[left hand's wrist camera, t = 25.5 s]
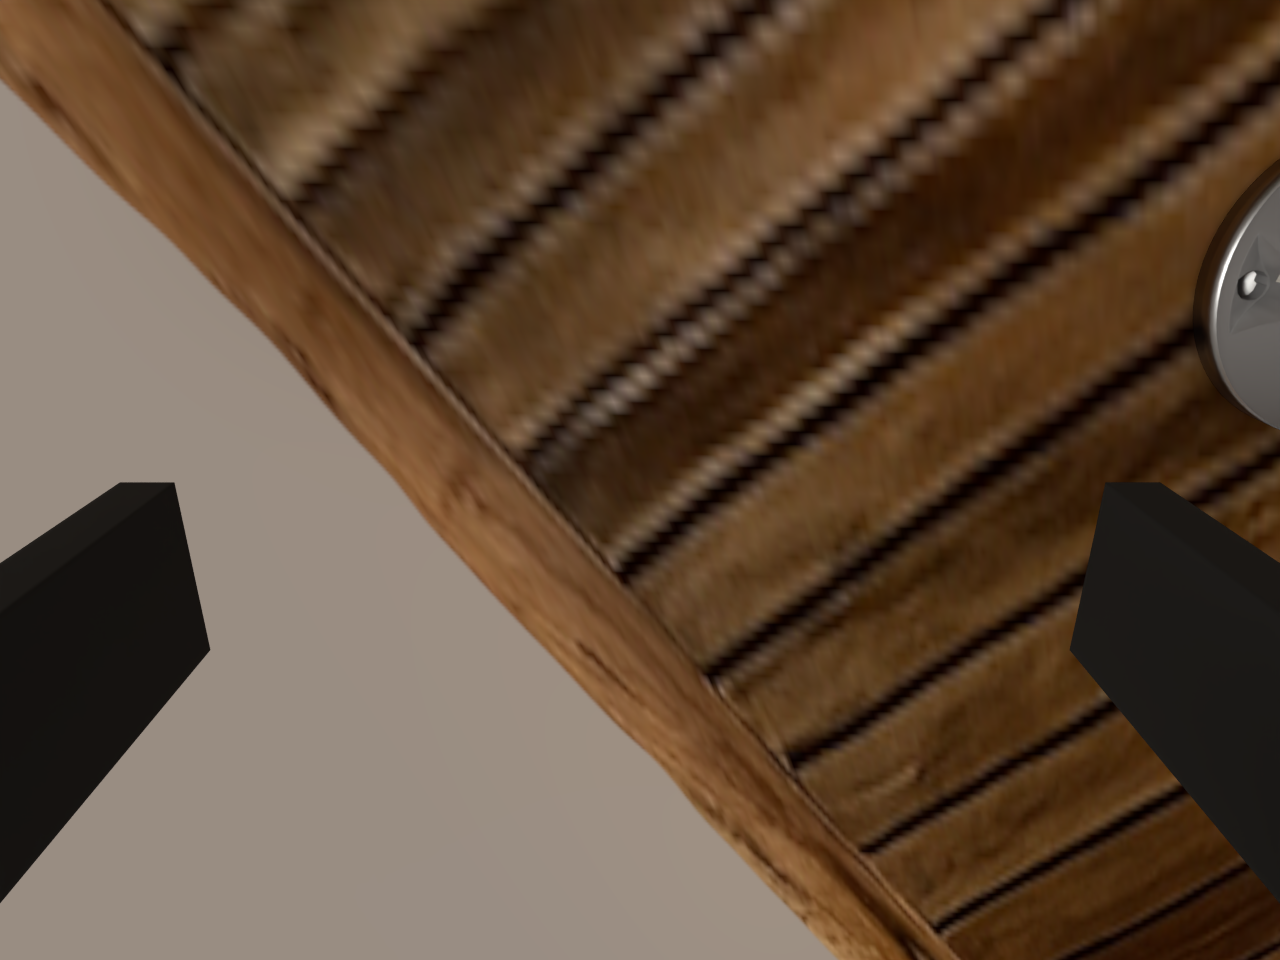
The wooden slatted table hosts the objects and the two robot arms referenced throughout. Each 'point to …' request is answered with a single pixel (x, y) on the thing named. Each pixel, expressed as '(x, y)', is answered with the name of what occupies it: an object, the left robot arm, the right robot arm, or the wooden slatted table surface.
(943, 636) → the wooden slatted table surface
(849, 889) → the wooden slatted table surface
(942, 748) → the wooden slatted table surface
